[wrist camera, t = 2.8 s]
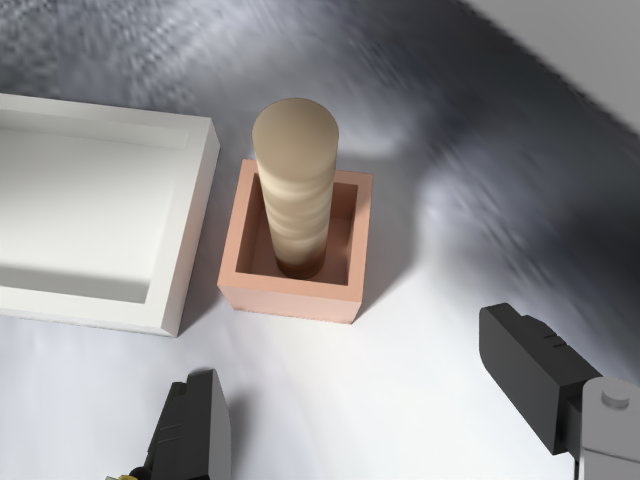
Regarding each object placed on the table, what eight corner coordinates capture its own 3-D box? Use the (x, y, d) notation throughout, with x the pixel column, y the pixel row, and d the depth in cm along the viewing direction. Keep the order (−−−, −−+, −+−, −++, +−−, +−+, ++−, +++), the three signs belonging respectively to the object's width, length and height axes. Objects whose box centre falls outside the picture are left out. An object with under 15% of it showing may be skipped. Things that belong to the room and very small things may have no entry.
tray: (-135, 298, 30) (-189, 283, 26) (-47, 114, 35) (-84, 83, 31) (176, 337, 29) (160, 327, 26) (220, 146, 34) (211, 117, 31)
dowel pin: (272, 276, 30) (244, 166, 17) (279, 230, 31) (259, 93, 18) (322, 282, 30) (333, 176, 17) (327, 236, 31) (342, 102, 18)
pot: (233, 309, 30) (217, 284, 24) (253, 203, 33) (242, 158, 27) (351, 324, 30) (361, 302, 24) (362, 216, 33) (373, 174, 27)
